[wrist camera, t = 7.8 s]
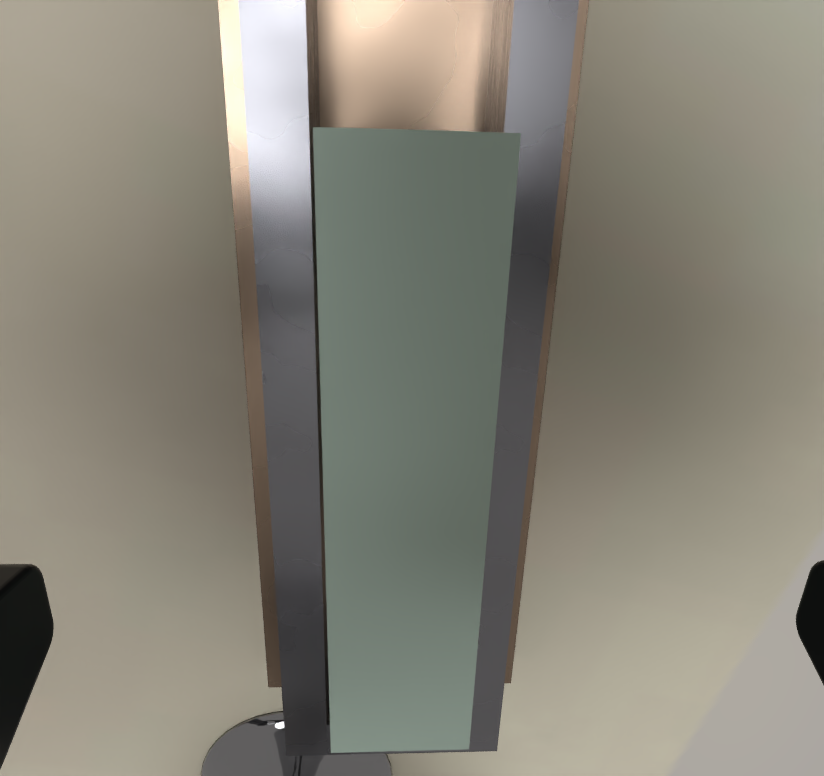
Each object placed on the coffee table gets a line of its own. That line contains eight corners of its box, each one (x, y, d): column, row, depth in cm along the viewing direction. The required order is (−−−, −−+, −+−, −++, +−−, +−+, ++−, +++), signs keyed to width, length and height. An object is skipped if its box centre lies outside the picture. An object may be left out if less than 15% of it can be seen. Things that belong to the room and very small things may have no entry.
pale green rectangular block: (349, 502, 18) (330, 752, 11) (346, 127, 15) (312, 126, 7) (433, 501, 19) (469, 749, 11) (449, 130, 15) (521, 133, 7)
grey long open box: (273, 663, 22) (254, 756, 19) (210, -251, 13) (153, -379, 10) (505, 659, 22) (526, 750, 19) (601, -227, 13) (672, -340, 10)
